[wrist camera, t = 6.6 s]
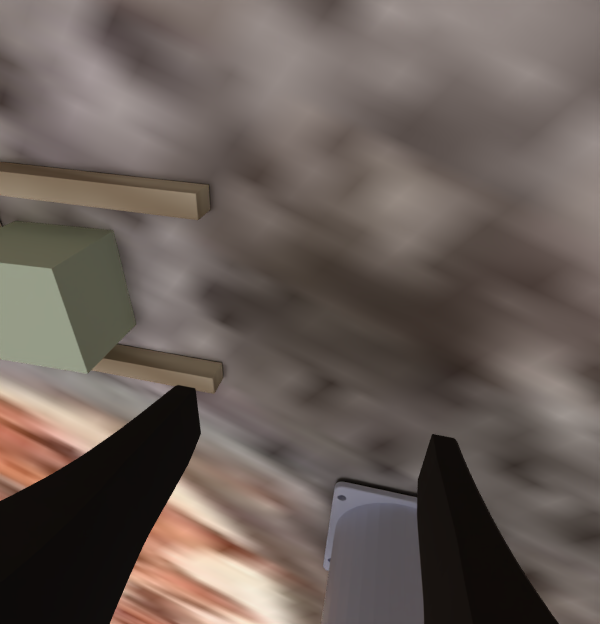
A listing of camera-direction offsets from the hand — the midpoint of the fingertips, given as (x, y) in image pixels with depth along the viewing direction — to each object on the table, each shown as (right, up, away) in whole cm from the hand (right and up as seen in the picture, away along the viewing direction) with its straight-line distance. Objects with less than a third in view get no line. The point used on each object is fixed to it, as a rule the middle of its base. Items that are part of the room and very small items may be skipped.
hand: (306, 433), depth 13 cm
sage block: (-11, +6, +8) cm, 14 cm away
